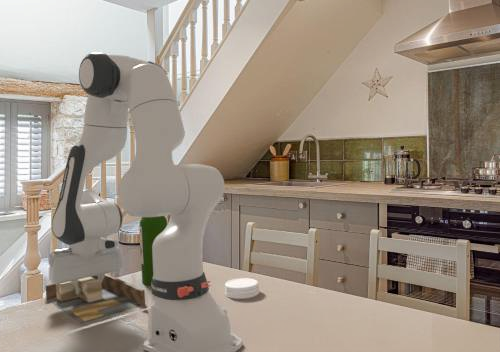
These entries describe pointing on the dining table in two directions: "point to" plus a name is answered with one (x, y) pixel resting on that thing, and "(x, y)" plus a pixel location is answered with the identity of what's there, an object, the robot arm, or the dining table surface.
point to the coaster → (242, 288)
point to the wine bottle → (149, 244)
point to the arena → (114, 300)
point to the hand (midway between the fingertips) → (88, 291)
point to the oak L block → (90, 291)
